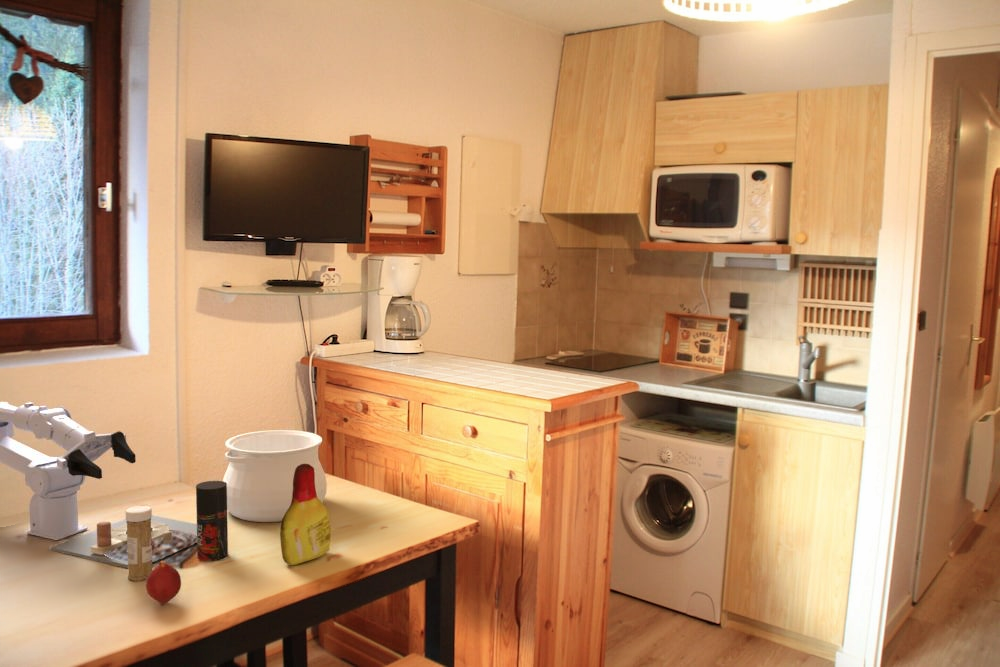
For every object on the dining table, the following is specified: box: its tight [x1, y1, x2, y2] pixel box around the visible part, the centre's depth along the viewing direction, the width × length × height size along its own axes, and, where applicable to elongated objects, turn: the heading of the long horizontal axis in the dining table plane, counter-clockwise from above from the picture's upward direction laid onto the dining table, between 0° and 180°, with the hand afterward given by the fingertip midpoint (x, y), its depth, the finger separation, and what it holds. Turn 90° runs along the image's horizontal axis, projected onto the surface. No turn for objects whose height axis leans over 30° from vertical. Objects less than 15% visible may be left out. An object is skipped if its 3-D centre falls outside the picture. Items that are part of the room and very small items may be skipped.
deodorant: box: [195, 480, 229, 563], centre depth 170 cm, size 6×6×15 cm
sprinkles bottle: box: [125, 505, 153, 582], centre depth 160 cm, size 5×5×14 cm
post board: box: [49, 514, 197, 569], centre depth 179 cm, size 24×24×5 cm
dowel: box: [163, 531, 172, 543], centre depth 175 cm, size 2×2×3 cm
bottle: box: [279, 464, 332, 566], centre depth 169 cm, size 12×6×20 cm, turn 143°
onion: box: [145, 560, 182, 605], centre depth 148 cm, size 6×6×8 cm
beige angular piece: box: [91, 521, 169, 555], centre depth 176 cm, size 17×12×6 cm
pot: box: [222, 429, 328, 523], centre depth 201 cm, size 26×24×17 cm
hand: (117, 466), depth 171 cm, fingers open, 7 cm apart
